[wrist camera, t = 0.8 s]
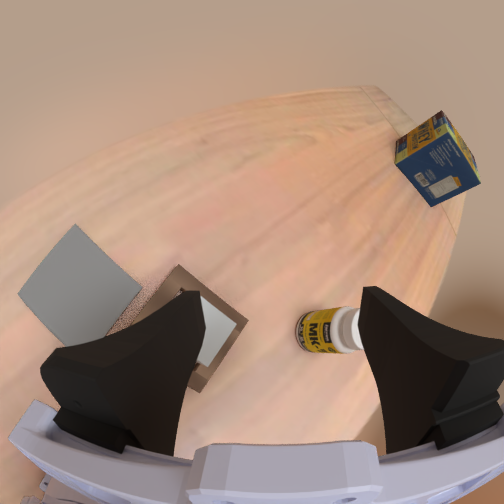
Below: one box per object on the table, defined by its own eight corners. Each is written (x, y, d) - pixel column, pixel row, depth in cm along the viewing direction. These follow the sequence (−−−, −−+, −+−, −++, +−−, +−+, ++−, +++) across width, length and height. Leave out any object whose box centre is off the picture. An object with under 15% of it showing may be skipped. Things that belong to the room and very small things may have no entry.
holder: (196, 390, 23) (199, 393, 22) (121, 336, 21) (121, 337, 20) (243, 320, 27) (248, 320, 26) (176, 266, 25) (178, 264, 24)
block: (190, 359, 23) (207, 367, 18) (155, 333, 23) (163, 334, 18) (213, 325, 25) (236, 324, 20) (180, 299, 25) (195, 291, 20)
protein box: (395, 140, 55) (441, 109, 42) (430, 181, 59) (474, 157, 45) (393, 164, 50) (447, 130, 37) (431, 208, 54) (482, 184, 40)
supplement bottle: (288, 323, 29) (341, 317, 22) (317, 305, 31) (371, 294, 24) (304, 360, 28) (359, 363, 21) (332, 339, 31) (386, 336, 24)
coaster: (85, 362, 19) (84, 363, 19) (19, 294, 18) (17, 294, 17) (142, 288, 23) (142, 287, 23) (76, 225, 22) (75, 223, 21)
